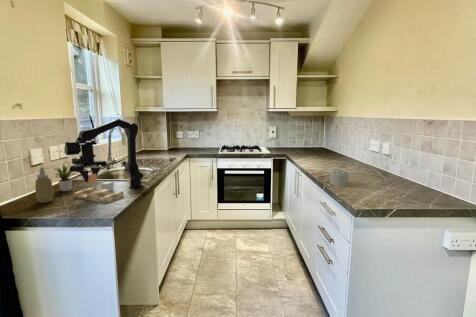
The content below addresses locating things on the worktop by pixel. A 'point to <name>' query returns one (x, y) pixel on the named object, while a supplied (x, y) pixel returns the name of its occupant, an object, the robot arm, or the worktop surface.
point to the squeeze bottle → (44, 187)
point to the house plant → (64, 178)
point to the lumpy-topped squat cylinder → (339, 178)
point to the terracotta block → (91, 178)
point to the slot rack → (98, 195)
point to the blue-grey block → (107, 185)
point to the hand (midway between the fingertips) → (90, 181)
